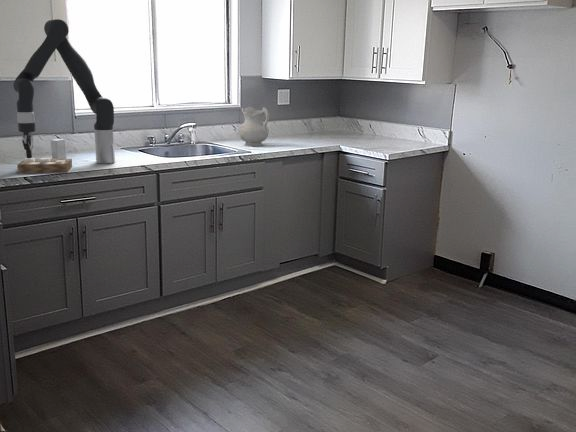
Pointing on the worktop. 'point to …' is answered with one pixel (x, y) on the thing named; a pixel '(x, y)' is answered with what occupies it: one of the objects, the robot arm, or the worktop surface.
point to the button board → (45, 166)
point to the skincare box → (58, 149)
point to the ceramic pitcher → (254, 126)
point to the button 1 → (29, 160)
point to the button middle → (45, 160)
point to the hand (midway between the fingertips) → (29, 157)
